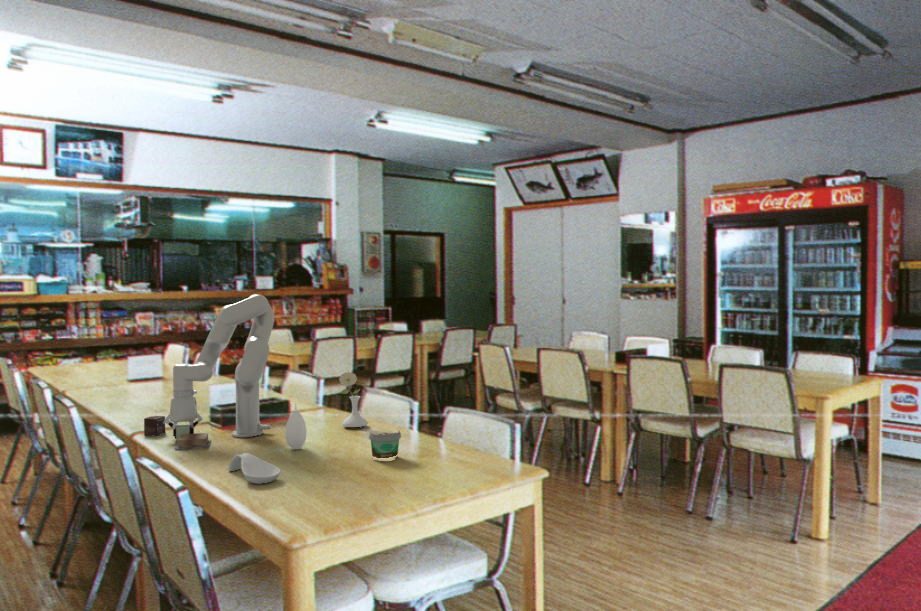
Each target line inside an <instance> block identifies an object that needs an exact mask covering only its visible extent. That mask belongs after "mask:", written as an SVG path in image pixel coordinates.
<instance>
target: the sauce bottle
mask: <svg viewBox="0 0 921 611" xmlns="http://www.w3.org/2000/svg"><path fill="white" fill-rule="evenodd" d="M285 425H286V426H285V430H284V433H285V434H284V436H285V440H286V444H287V445H288V447H290V448H291V450H294V449H298V450H299V449H301V448H302V447H303V446H304V445H305V442H306V439H307V426H306V422H305V419H304V417H303V415H302V414H301V413H300V410H299V409H298V408H297V403H295V407H294V409H293V410H292V412H291V414H290V416H289V417H288V419H287V423H286V424H285Z"/></svg>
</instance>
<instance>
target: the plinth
mask: <svg viewBox="0 0 921 611" xmlns="http://www.w3.org/2000/svg"><path fill="white" fill-rule="evenodd" d="M177 442H178V443H177V445H176V446H175V448H174V450H175V451H181V450H180V449H187V450H194V449H193V448H204V449H209V448H208V447H210V445H211V442H212V439H209V432H200V433H198V432H197V433H194V434H182V435H181V436H180V438H179V440H178V441H177ZM209 444H210V445H209Z"/></svg>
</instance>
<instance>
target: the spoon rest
mask: <svg viewBox="0 0 921 611" xmlns="http://www.w3.org/2000/svg"><path fill="white" fill-rule="evenodd" d="M238 469H241V471H242V474H243V477H244V479H245V480H247V481H248V482H249V483H251V484H253V483H255V485H263V484H262V483H265V484H269V483H271V482H273V481H275V480H276V479H277V478H278V477H279V476H280V475H281V472H282V471H281V469H280V468H279V467H278V466H276V465H274V464H272V463H270V462H268V461H265V460H263V459H261V458H259V457H257V456H256V455H253V454H251V453H249V452H248V453H247V452H244V453H241V454H236V455H234V456H233V457H232V458H231V460H230V462H229V465H228V469H227V470H228V472H229V471H233V472H236V471H235V470H237V471H239V470H238ZM268 482H269V483H268Z"/></svg>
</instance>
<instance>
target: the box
mask: <svg viewBox="0 0 921 611" xmlns="http://www.w3.org/2000/svg"><path fill="white" fill-rule="evenodd" d="M165 419H166V416H164V415H163V416H162V415H152V416H147V417H145V418H143V428H144V429H143V432H144V433H143V436H148V435H155V436H154V437H158V436H161V435H162V434H163V433H164V434H166V423H165V422H164V420H165ZM160 434H161V435H160ZM157 435H158V436H157Z"/></svg>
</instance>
